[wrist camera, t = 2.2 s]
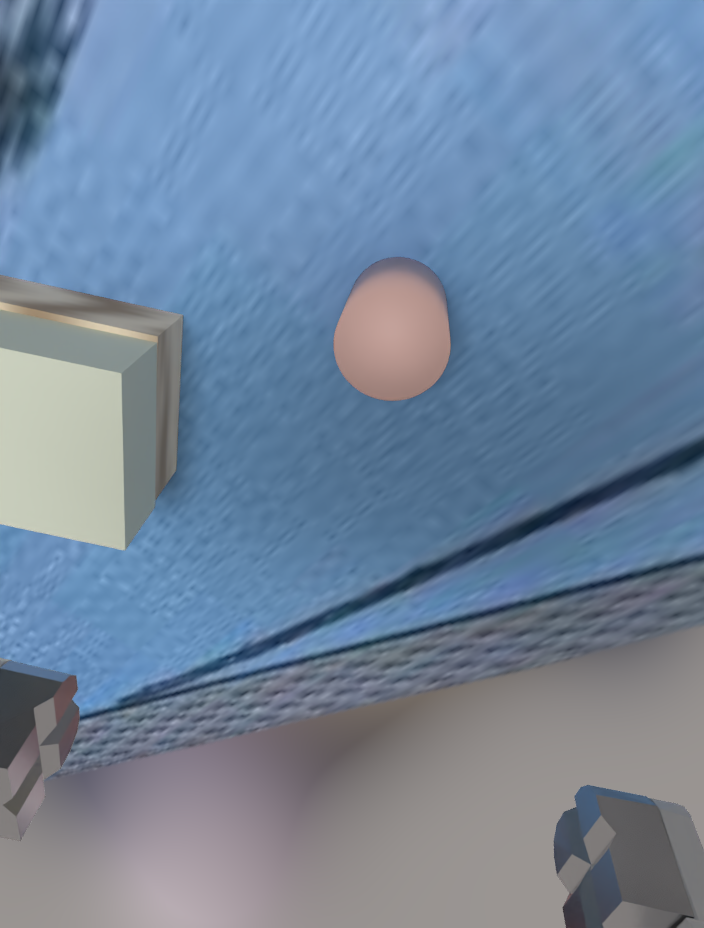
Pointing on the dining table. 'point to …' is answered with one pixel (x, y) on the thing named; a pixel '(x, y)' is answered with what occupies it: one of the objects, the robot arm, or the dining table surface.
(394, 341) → the rose cylinder
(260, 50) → the dining table surface
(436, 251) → the dining table surface
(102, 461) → the tower top
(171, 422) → the tower base
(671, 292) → the dining table surface
